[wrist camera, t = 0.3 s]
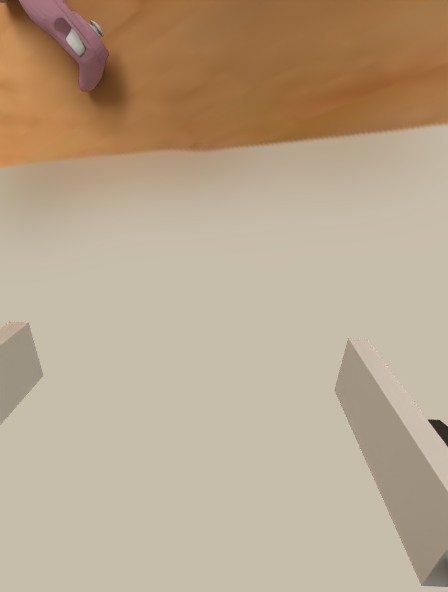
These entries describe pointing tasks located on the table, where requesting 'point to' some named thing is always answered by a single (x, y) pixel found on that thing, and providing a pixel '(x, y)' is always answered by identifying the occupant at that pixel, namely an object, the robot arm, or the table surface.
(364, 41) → the table surface
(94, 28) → the video game controller
